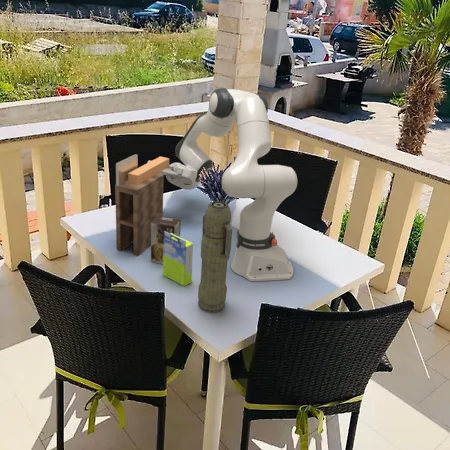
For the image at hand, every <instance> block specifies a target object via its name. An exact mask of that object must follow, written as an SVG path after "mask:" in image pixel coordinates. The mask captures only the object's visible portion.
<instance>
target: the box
mask: <svg viewBox="0 0 450 450" xmlns="http://www.w3.org/2000/svg"><path fill="white" fill-rule="evenodd" d="M193 254H194V242H192V241H188V240H187V239H185V238H182V237H181V236H180V237H178V236H176V235H174V234H172V233H168V232H166V231H164V245H163V264H162V275H163V276H164V277H166V278H169V279H170V280H172V281H173V282H176V283H178V284H180V285H181V286H183V287H185V286H187V285H189V284H191V283H192V282H193V281H192V280H193V279H192V278H193Z"/></svg>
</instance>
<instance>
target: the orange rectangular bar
mask: <svg viewBox="0 0 450 450" xmlns="http://www.w3.org/2000/svg"><path fill="white" fill-rule="evenodd" d="M150 161H151V162H149V163H145V164H143V165H141V166H139V167H138V168H137V169H135V170H134V171H132V172H130V173H128V183H132V184H136V185H139V184H141V183H142V182H144V181H146V180H147V179H149V178H151V177H153V176H154V175H156V174H159V173H160V172H161V171H163V170H165V169H167V168H168V167H169V165H170V158H168V157H166V156H165V157H164V156H158V157H157V158H155V159H153V160H150Z"/></svg>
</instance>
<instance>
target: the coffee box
mask: <svg viewBox="0 0 450 450" xmlns="http://www.w3.org/2000/svg"><path fill="white" fill-rule="evenodd" d="M164 231H166V232H168V233H172V234H174V235H176V236H178V237H181V219H180V218H174V217H170V216H169V217H168V216H164V215H163V216H158V215H157V216H156V217H155V219H154V220H153V221H152V222H151V246H150V262H151V263H155V264H160V265H163V245H164Z"/></svg>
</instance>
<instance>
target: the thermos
mask: <svg viewBox="0 0 450 450" xmlns="http://www.w3.org/2000/svg"><path fill="white" fill-rule="evenodd" d="M204 213H205V214H204V215H203V216H202V237H201V242H200V243H201V245H200V258H201V266H200V267H201V269H200V271H201V272H200V282H199V284H198V290H197V299H198V301H197V305H198V308H199V309H201V310H202V311H204V312H207V313H218V312H221V311H223V310H224V309H225V306H226V301H227V300H226V299H227V295H228V294H227V292H228V291H227V290H228V286H227V272H228V261H229V260H230V256H231V247H232V236H233V228H232V225H231V218H232V212H231V209H230V206H229V204H228V203H226V202H224V201H220V200H219V201H217V200H216V201H212V202H210V203H209V204H208V206H207V207H206V210H205V212H204Z"/></svg>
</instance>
